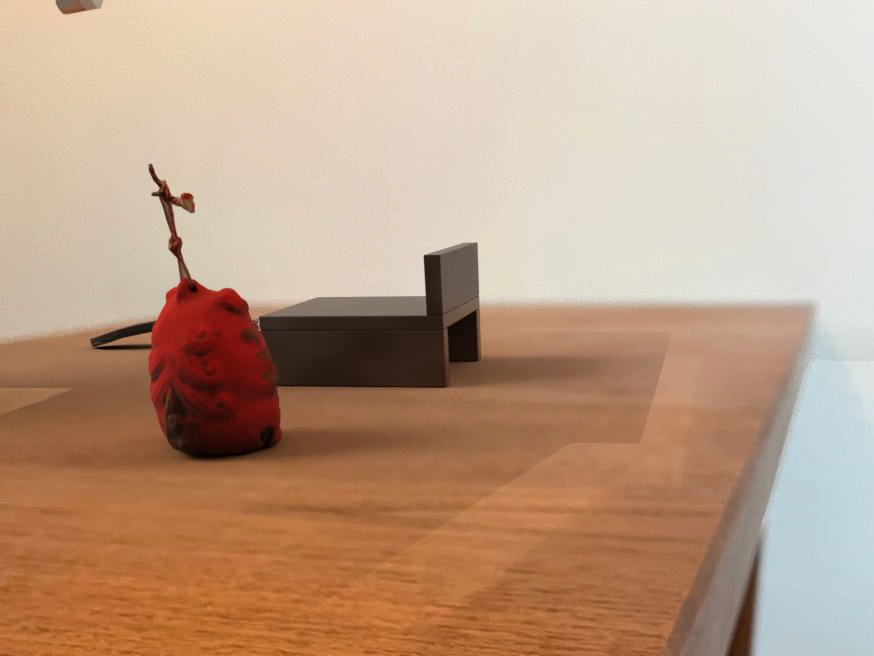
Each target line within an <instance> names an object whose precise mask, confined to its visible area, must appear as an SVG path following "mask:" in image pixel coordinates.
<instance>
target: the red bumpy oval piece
mask: <svg viewBox="0 0 874 656" xmlns="http://www.w3.org/2000/svg"><path fill="white" fill-rule="evenodd" d="M147 166H148V173H149V174H150V176H151V179H152V181H153V182H154V183H155V185H157V186H158V190H157V191H152V192H151V193H150V195H151V197H158V199H159V202H160V203H161V207H162V209H163V214H164V217H165V220H166V223H167V226H168V229H169V233H170V237H169V238H168V241H167V242H168V245H167V249H168V251H169V252H171V254H172V255H173V256H174V257H175V258H176V260H177V266H178V267H177V268H178V274H179V283H178V284H177V286H174V287H172V288H170V289H169V290H168V291H166V293H165V304H163V307H162V309H161V310H160V313H159V315H158V317H157V319H156V320H157V321H156V320H155V321H156V322H155V324H154V326H153V328H152V332H151V335H150V339H151V349H150V352H149V355H148V373H149V375H150V381H149V392H150V399H151V403H152V404H153V407H154V409H155V413H156V416H157V417H156V418H157V421H158V424H159V427H160V430H161V432H162V433H163V435H164V436H165V438H166V440H167V442H168V444H169V445H170V447H171V448H172V449H173V450H176V451H179V452H182V453H186V454H193V455H196V456H212V455H213V456H223V455H229V454H234V455H235V454H242V453H245V452H249V451H250V452H251V451H254V450H255V451H256V450H258V449H260V448H262V447H264V446H271V445H277V444H278V443H279V442H280V441H281V440H282V435H283V431H282V429H281V417H282V415H281V414H282V411H281V407H280V396H279V393H278V391H279V390H278V387H279V385H278V379H279V372H278V369H277V368H276V366H275V365H274V363H273V362H272V358H271V355H270V352H269V350H268V348H267V345H266V342H265V340H264V338H263V336H262V334H261V332H260V331H261V330H260V329H257V328H256V326H255V324H254V322H253V319H252V316H251V315H250V311H249V309H250V306H249V304H248V301H247V300H245V299H244V298H243V297H241V295H240V294H239V293H238V292H237V291H236V290H235V289H234V288H232V287H223V288H221V289H220V290H214V289H209V288H207V287H206V286H204V285H203V284H201V283H200V282H198V281H197V280H196V279H194V278H192V275H191V273H190V270H189V269H188V266H187V265H186V263H185V260H184V259H185V258H184V257H183V253H182V247H183V239H182V238H181V236H178V231H177V228H176V220H175V212H174V209H173V206H175V207H178V208H182V210H185V211H186V212H188V213H190V214H195V213H196V203H195V201H194V198H195V196H194V195H193V194H192V193H191V192H182V193H181V194H180V196H174V195H172V193H171V190H170V187H169V185H168V183H167V181H166V179H162V180H161V179H160V178H159V177H158V175H157V173H156V171H155V168H154V165H153V163H149V164H148V165H147Z"/></svg>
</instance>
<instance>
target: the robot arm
mask: <svg viewBox="0 0 874 656" xmlns="http://www.w3.org/2000/svg"><path fill="white" fill-rule="evenodd" d="M103 2H104V0H55V5H56V7H57V8H58V9H59V11H60V13H61V14H63V15H66V16H67V15H73V14H77V13H83V12H88V11H94V10H99V9H101V8H102V6H103Z"/></svg>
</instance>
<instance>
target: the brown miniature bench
mask: <svg viewBox="0 0 874 656" xmlns="http://www.w3.org/2000/svg"><path fill="white" fill-rule="evenodd" d="M478 245H479V243H478V242H477V241H476V242H461V243H458V244H455V245H451V246H449V247H446V248H442V249H439V250H435V251H432V252H430V253H426V254H423V275H424V290H425V291H424V293H425V295H395V296H393V295H391V296H390V295H389V296H386V295H385V296H383V295H382V296H316V297H313V298H311V299H308V300H305V301H301V302H298V303H295V304H292V305H289V306H287V307H284V308H280V309H278V310H275V311H272V312H268V313H265V314H262V315H259V316H258V324H260V327H259V331H261V334H262V336H263V338H264V340H265V342H266V345H267V348H268V350H269V352H270V355H271V358H272V362H273V363H274V365H275V366H276V368H277V369H278V372H279V379H278V386H297V387H298V386H302V387H304V386H305V387H306V386H307V387H406V388H410V387H413V388H416V387H417V388H421V387H422V388H423V387H424V388H446V387H448V386H449V385H450V384H451V378H450V377H451V375H450V362H479V361H480V360H481V359H482V339H481V337H482V336H481V335H482V334H481V310H480V307H481V306H480V276H479V246H478Z"/></svg>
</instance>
